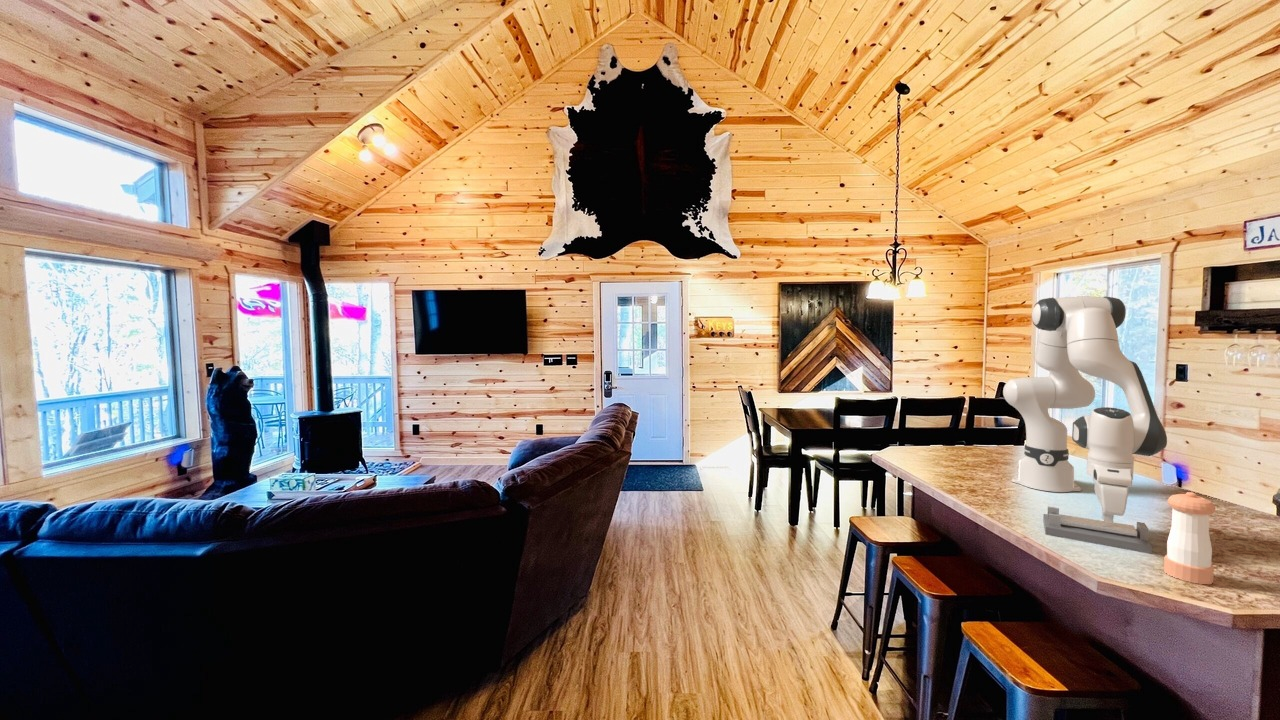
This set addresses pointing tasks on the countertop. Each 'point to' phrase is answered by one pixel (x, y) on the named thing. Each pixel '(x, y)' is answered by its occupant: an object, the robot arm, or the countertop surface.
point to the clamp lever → (1098, 525)
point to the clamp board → (1097, 534)
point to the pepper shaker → (1190, 539)
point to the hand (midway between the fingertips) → (1107, 520)
